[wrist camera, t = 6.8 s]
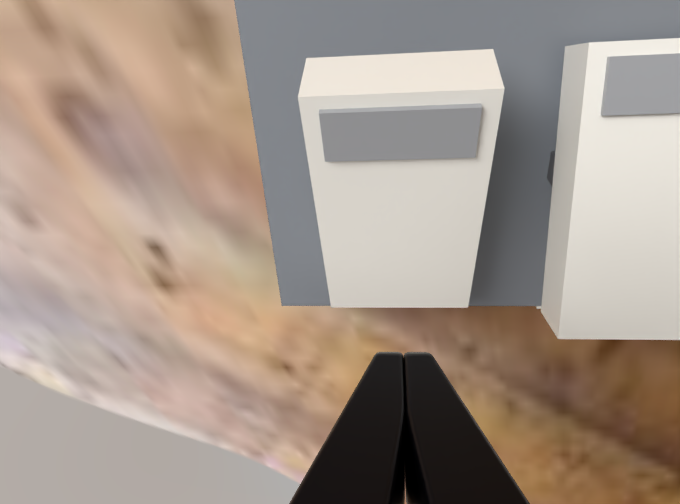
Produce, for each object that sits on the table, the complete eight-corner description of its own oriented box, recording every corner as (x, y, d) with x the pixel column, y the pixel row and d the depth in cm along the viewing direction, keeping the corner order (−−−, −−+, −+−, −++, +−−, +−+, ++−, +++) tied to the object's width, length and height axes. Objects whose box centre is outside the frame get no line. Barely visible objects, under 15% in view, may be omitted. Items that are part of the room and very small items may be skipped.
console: (846, 258, 18) (944, 331, 15) (295, 262, 21) (277, 327, 17) (1032, -80, 13) (1247, -80, 10) (257, -28, 15) (221, -14, 12)
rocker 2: (690, 312, 14) (730, 343, 13) (540, 311, 15) (560, 341, 13) (744, 37, 12) (800, 31, 10) (564, 46, 12) (591, 42, 11)
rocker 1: (462, 266, 16) (468, 311, 15) (334, 266, 16) (330, 311, 15) (493, 48, 11) (505, 93, 10) (306, 58, 11) (296, 101, 10)
